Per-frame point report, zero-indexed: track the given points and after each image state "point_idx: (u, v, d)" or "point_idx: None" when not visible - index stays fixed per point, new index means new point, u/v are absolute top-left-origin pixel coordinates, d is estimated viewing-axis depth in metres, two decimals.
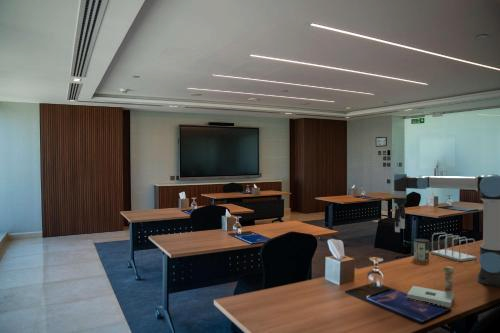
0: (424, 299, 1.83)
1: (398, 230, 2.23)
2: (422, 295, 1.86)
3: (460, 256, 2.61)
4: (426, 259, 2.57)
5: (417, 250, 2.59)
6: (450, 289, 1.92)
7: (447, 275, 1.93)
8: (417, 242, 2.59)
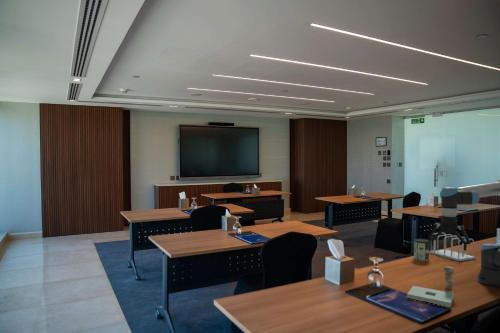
0: (424, 299, 1.83)
1: None
2: (422, 295, 1.86)
3: (459, 256, 2.61)
4: (426, 259, 2.57)
5: (417, 250, 2.59)
6: (450, 289, 1.92)
7: (447, 275, 1.93)
8: (417, 242, 2.59)
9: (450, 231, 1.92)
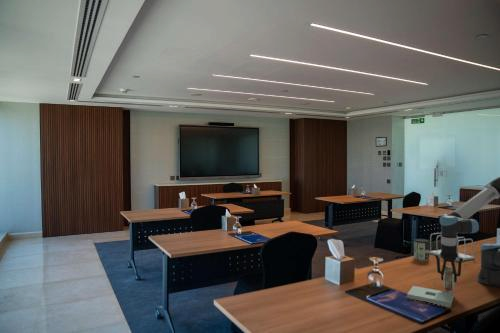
0: (424, 299, 1.83)
1: None
2: (422, 295, 1.86)
3: None
4: (426, 259, 2.57)
5: (417, 250, 2.59)
6: (450, 289, 1.92)
7: (447, 275, 1.93)
8: (417, 242, 2.59)
9: (450, 260, 1.92)
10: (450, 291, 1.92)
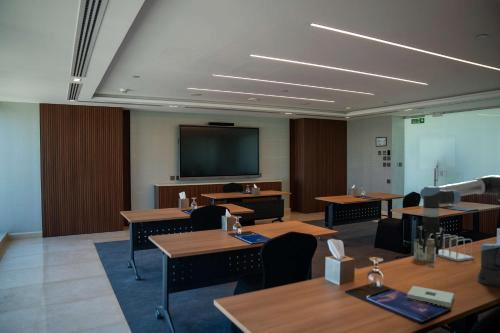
0: (424, 299, 1.83)
1: (425, 257, 1.89)
2: (422, 295, 1.86)
3: (457, 256, 2.61)
4: None
5: (417, 250, 2.59)
6: (432, 262, 1.86)
7: (429, 247, 1.86)
8: (417, 242, 2.59)
9: (432, 232, 1.86)
10: (432, 264, 1.86)
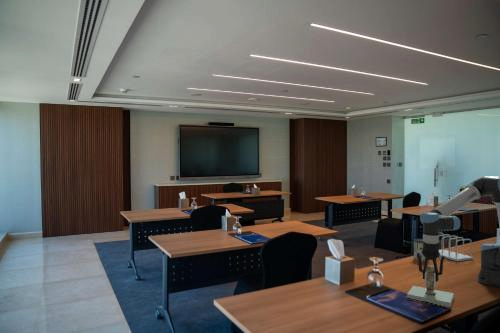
0: (424, 299, 1.83)
1: None
2: (422, 295, 1.86)
3: (457, 256, 2.61)
4: None
5: (417, 250, 2.59)
6: (432, 289, 1.86)
7: (429, 274, 1.87)
8: (417, 242, 2.59)
9: (432, 258, 1.86)
10: (431, 291, 1.86)
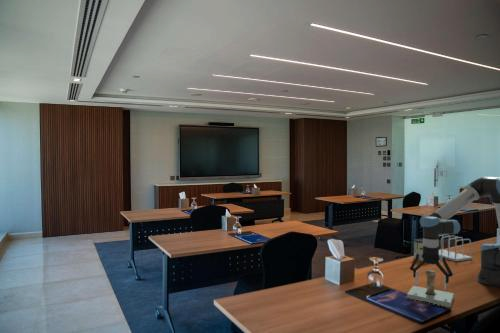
0: (424, 299, 1.83)
1: None
2: (422, 295, 1.86)
3: (456, 256, 2.61)
4: None
5: (417, 250, 2.59)
6: (432, 293, 1.86)
7: (429, 279, 1.87)
8: (417, 242, 2.59)
9: (432, 262, 1.86)
10: None
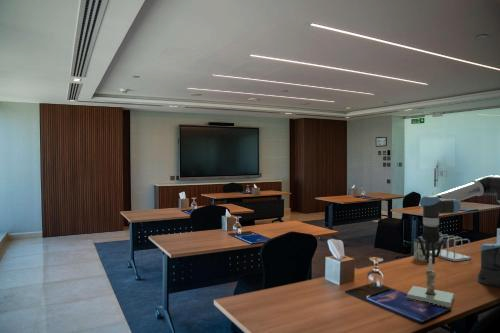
0: (424, 299, 1.83)
1: (429, 267, 1.88)
2: (422, 295, 1.86)
3: (455, 256, 2.61)
4: (426, 259, 2.57)
5: (417, 250, 2.59)
6: (432, 293, 1.86)
7: (429, 279, 1.87)
8: (417, 242, 2.59)
9: None
10: None
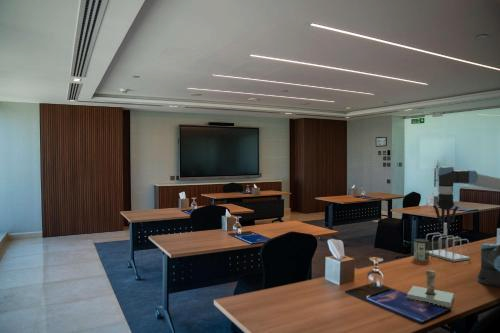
0: (424, 299, 1.83)
1: None
2: (422, 295, 1.86)
3: (454, 256, 2.61)
4: (426, 259, 2.57)
5: (417, 250, 2.59)
6: (432, 293, 1.86)
7: (429, 279, 1.87)
8: (417, 242, 2.59)
9: (447, 208, 2.02)
10: None
